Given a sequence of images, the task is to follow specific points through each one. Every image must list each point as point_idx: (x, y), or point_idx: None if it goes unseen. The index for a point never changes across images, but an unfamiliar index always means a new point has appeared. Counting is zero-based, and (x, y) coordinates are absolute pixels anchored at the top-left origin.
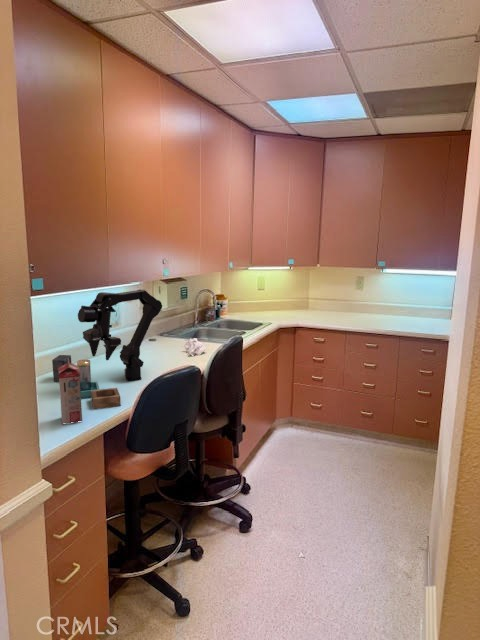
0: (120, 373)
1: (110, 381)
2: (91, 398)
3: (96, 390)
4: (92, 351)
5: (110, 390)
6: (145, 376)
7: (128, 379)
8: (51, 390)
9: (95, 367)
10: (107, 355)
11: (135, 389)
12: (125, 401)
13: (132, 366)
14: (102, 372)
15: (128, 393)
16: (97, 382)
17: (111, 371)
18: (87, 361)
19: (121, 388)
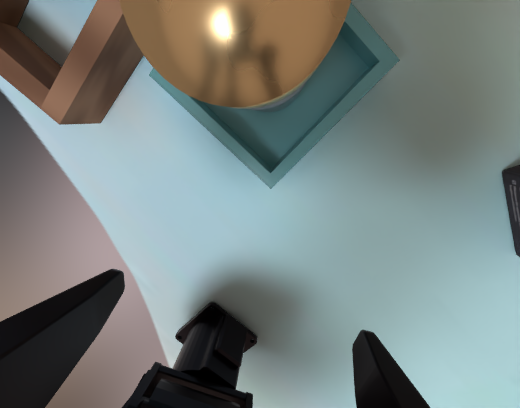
0: (310, 363)
1: (280, 274)
2: None
3: (110, 10)
4: (387, 386)
5: (62, 75)
6: None
7: (213, 311)
8: (511, 14)
9: (474, 390)
10: (38, 308)
11: (112, 237)
12: None
13: (168, 374)
14: (397, 351)
15: (97, 185)
16: (255, 173)
17: None
18: (161, 7)
19: (170, 222)
